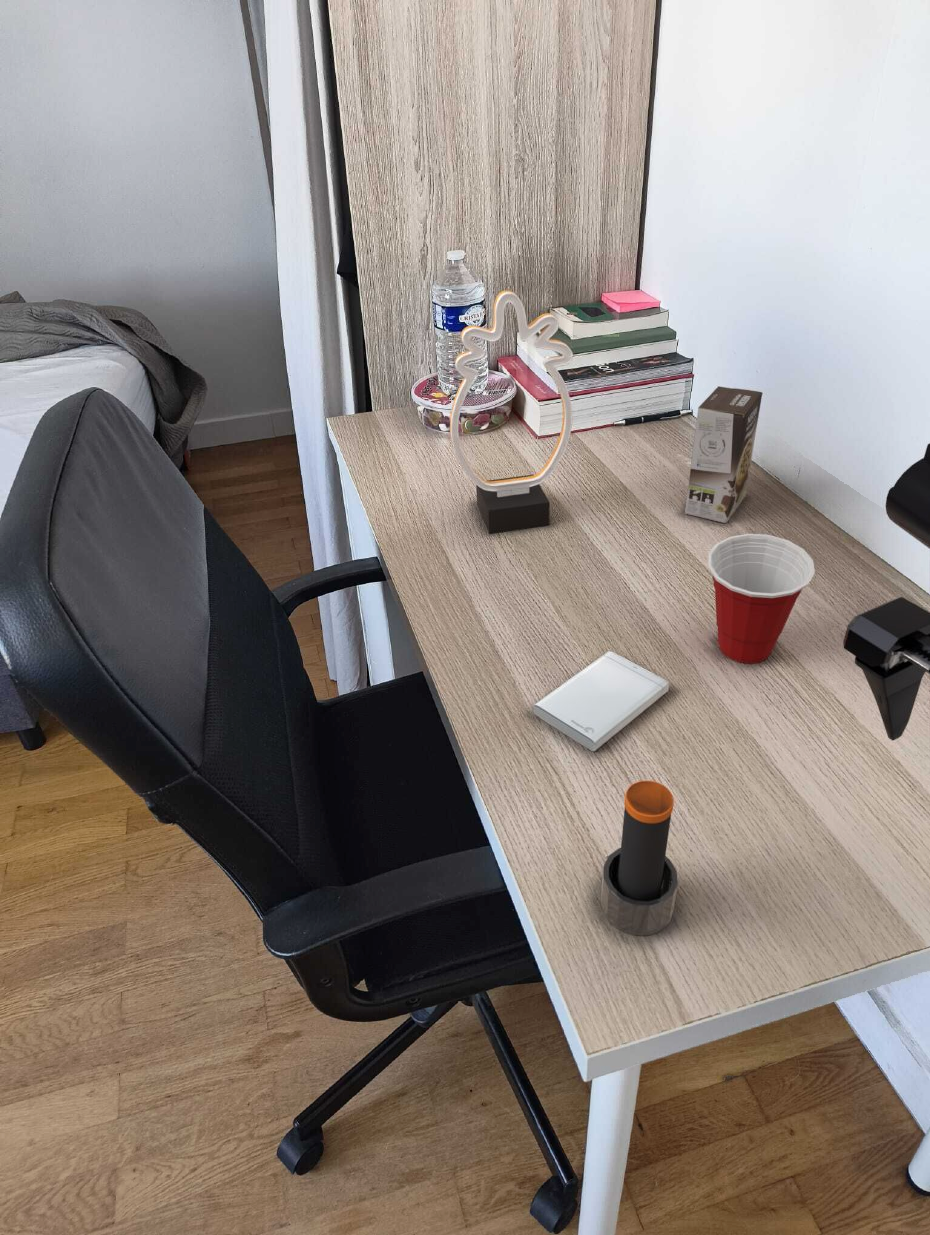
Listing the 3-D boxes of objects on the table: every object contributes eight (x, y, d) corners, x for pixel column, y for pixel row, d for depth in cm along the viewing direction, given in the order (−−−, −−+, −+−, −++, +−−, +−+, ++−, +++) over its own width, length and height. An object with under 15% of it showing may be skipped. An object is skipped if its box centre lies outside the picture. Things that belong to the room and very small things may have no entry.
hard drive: (594, 741, 82) (669, 680, 89) (533, 703, 87) (608, 648, 94) (594, 753, 83) (668, 692, 90) (533, 714, 88) (607, 659, 95)
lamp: (559, 493, 127) (563, 274, 109) (576, 521, 120) (583, 293, 101) (450, 508, 125) (435, 287, 107) (461, 537, 118) (447, 307, 99)
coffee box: (727, 524, 117) (744, 415, 108) (683, 514, 120) (696, 407, 111) (747, 496, 124) (764, 390, 114) (704, 487, 126) (718, 383, 117)
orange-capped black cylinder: (638, 876, 71) (650, 773, 64) (668, 905, 68) (684, 802, 61) (606, 896, 69) (615, 793, 62) (635, 927, 67) (647, 824, 60)
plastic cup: (685, 667, 93) (697, 576, 86) (705, 613, 101) (718, 526, 94) (788, 690, 89) (809, 597, 82) (800, 632, 97) (821, 543, 90)
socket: (685, 924, 68) (690, 894, 65) (618, 944, 66) (621, 914, 64) (653, 867, 72) (657, 837, 70) (590, 885, 71) (592, 854, 69)
